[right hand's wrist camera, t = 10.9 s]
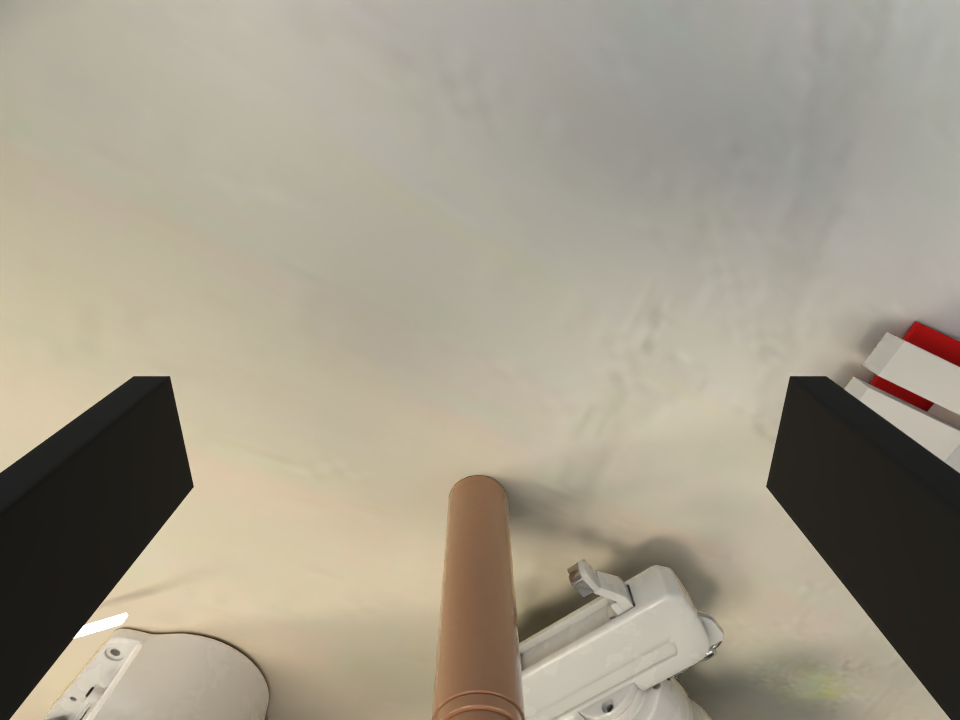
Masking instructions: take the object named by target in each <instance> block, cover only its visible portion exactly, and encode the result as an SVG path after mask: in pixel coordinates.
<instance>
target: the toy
mask: <svg viewBox="0 0 960 720" xmlns="http://www.w3.org/2000/svg"><path fill="white" fill-rule="evenodd" d="M862 365H863V366H865V367H866V368H867V369H869V370H870V371H872V372H873V373H875V374H876V376H875V377H874V378H873V380H872V381H871V383H870V384H868V383H866V382H864V381H862V380H860V379H858V378H856V377H854V376H853V378H852V379H851V380H850V382H849V383H848V384H847V386H846V387H845V388H844V390H846V391H847V392H848V393H850V394H851V395H853V396H854V397H855V398H857V399H858V400H860V401H861V402H862V403H864V404H865V405H866V406H868V407H869V408H871V409H872V410H873V411H875V412H876V413H877V414H879V415H880V416H882V417H883V418H884V419H886V420H887V421H888V422H890V423H891V424H893V425H894V426H895V427H897V428H898V429H899V430H901V431H902V432H904V433H905V434H906V435H908V436H909V437H911V438H912V439H913V440H915V441H916V442H917V443H919V444H920V445H922V446H923V447H924V448H926V449H927V450H928V451H930V452H931V453H933V454H934V455H935V456H937V457H938V458H939V459H941V460H942V461H944V462H945V463H946V464H948V465H949V466H951V467H952V468H953V469H955V470H956V471H957V472H959V473H960V342H959V341H957V340H955V339H953V338H950V337H948V336H946V335H944V334H942V333H940V332H937V331H935V330H933V329H931V328H929V327H927V326H924V325H922V324H920V323H918V322H915V323H914V324H913V326H912V327H911V328H910V330H909V331H908V332H907V334H906V335H905V336H904V338H903V339H901V338H899V337H897V336H895V335H893V334H891V333H888V332H887V333H886V334H885V335H884V337H883V338H882V339H881V341H880V342H879V343H878V345H877V346H876V347H875V349H874V350H873V351H872V353H871V354H870V355H869V356H868V358H867V359H866V360H865V362H864V363H863V364H862Z"/></svg>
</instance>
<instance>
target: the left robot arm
mask: <svg viewBox="0 0 960 720" xmlns="http://www.w3.org/2000/svg"><path fill="white" fill-rule="evenodd" d="M567 570H568V573H569V574H570V575H569V579H570V582H571V584H572V585H573V587H574V588H575V589H578V592H579V593H580V594H581V595H582V596H583V597H585V596H587V595H589V594H591V593H594V594H597V595H600V597H598V598H596V599H594V600H593V601H591V602H589V603H588V604H586V605H584V606H582V607H581V608H579V609H577V610H575V611H574V612H572V613H570V614H569V615H567V616H565V617H563V618H562V619H560V620H558V621H556V622H555V623H553V624H551V625H550V626H548V627H546V628H544V629H543V630H541V631H539V632H537V633H536V634H534V635H532V636H531V637H529V638H527V639H525V640H524V641H522V642H520V643H519V649H520V661H521V673H522V686H523V698H524V710H525V720H712V718H711V717H710V716H709V715H708V714H707V713H706V712H705V711H704V710H703V709H702V708H701V707H700V706H699V705H698V704H697V703H695V702H694V701H692V700H691V699H689V697H688V695H687V693H686V692H685V690H684V688H683V687H682V686H681V684H680V683H679V682H678V681H677V680H676V679H675V678H674V677H675V676H677V675H679V674H681V673H683V672H685V671H686V670H688V669H689V668H691V666H693V665H694V664H697V663H699V662H701V661H705V660H708V659H709V658H711V657H712V656H714V655H715V654H716V650H715V649H716V648H717V647H718V646H719V645H720V644H721V642H722V641H723V639H724V634H723V630H722V628H721V627H720V625H719V624H718V623H717V622H716V621H715V619H714V618H713V617H712V616H710V615H709V614H708V613H706V612H703V611H697V610H696V608H695V606H694V604H693V602H692V600H691V598H690V596H689V594H688V593H687V591H686V589H685V588H684V586H683V584H682V583H681V581H680V580H679V578H678V577H677V576H676V574H675V573H674V572H673V570H672V569H670V568H668V567H664V566H659V565H654V566H651V567H650V568H648V569H646V570H644V571H643V572H641V573H639V574H638V575H636V576H634V577H632V578H631V579H629V580H627V581H626V582H623V581H622V580H621V579H620V577H619V576H615V575H611V574H607V573H604V572H600V571H595V570H594V569H593V568H592V567H591V566H590V565H589V564H588V563H587V562H586V560H584V559H583V560H581V561H580V562H578V563H576V564H575V565H573V566H572V567H570V568H569V569H567ZM127 616H128V615H127V613H124V614H120V615H117V616H114V617H110V618H107V619H104V620H100V621H97V622H94V623H90V624H87V625H84V626H83V627H82V628H81V630H80V631H79V632H78V633H77V635H76V636H75V637H74V638H77V637H80V636H84V635H87V634H90V633H94V632H97V631H101V630H104V629H107V628H111V627H114V626H117V625H121V624H122V623H123V622H124V620H125V619H126V618H127ZM268 703H269V692H268V687H267V684H266V681H265V679H264V677H263V675H262V674H261V672H260V671H259V669H258V668H257V667H256V666H255V665H254V663H253V662H252V661H250V660H249V659H248V658H247V657H246V656H245V655H243V654H242V653H240V652H239V651H237V650H236V649H234V648H232V647H230V646H228V645H226V644H224V643H222V642H219V641H217V640H214V639H211V638H207V637H203V636H199V635H192V634H149V633H145V632H141V631H136V630H131V629H118V630H116V631H114V632H113V633H112V634H111V636H110V637H109V638H108V639H107V640H106V642H105V643H104V644H103V645H102V647H101V648H100V649H99V650H98V651H97V653H96V654H95V655H94V656H93V657H92V659H91V660H90V661H89V662H88V663H87V665H86V666H85V667H84V668H83V669H82V671H81V672H80V673H79V674H78V675H77V677H76V678H75V679H74V680H73V681H72V683H71V684H70V685H69V686H68V687H67V689H66V690H65V691H64V692H63V693H62V695H61V696H60V697H59V698H58V699H57V701H56V702H55V703H54V704H53V706H52V707H51V708H50V710H49V712H48V713H47V715H46V717H45V720H265V714H266V711H267V707H268Z"/></svg>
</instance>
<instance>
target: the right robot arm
mask: <svg viewBox="0 0 960 720" xmlns="http://www.w3.org/2000/svg"><path fill="white" fill-rule="evenodd" d="M193 487H194V486H193V481H192V477H191V472H190V467H189V463H188V458H187V453H186V449H185V444H184V439H183V435H182V430H181V426H180V421H179V416H178V412H177V407H176V402H175V398H174V393H173V388H172V384H171V379H170V376H134V377H132V378H131V379H129V380H128V381H127V382H125V383H124V384H123V385H121V386H120V387H118V388H117V389H116V390H114V391H113V392H112V393H110V394H109V395H107V396H106V397H105V398H103V399H102V400H100V401H99V402H98V403H96V404H95V405H94V406H92V407H91V408H89V409H88V410H87V411H85V412H84V413H83V414H81V415H80V416H78V417H77V418H76V419H74V420H73V421H72V422H70V423H69V424H67V425H66V426H65V427H63V428H62V429H60V430H59V431H58V432H56V433H55V434H54V435H52V436H51V437H49V438H48V439H47V440H45V441H44V442H43V443H41V444H40V445H38V446H37V447H36V448H34V449H33V450H32V451H30V452H29V453H27V454H26V455H25V456H23V457H22V458H21V459H19V460H18V461H16V462H15V463H14V464H12V465H11V466H9V467H8V468H7V469H5V470H4V471H3V472H1V473H0V720H9V719H10V718H11V717H12V716H13V714H14V713H15V712H16V710H17V709H18V708H19V707H20V705H21V704H22V703H23V702H24V700H25V699H26V698H27V697H28V695H29V694H30V693H31V692H32V690H33V689H34V688H35V686H36V685H37V684H38V683H39V681H40V680H41V679H42V678H43V676H44V675H45V674H46V673H47V671H48V670H49V669H50V668H51V666H52V665H53V664H54V662H55V661H56V660H57V659H58V657H59V656H60V655H61V654H62V652H63V651H64V650H65V649H66V647H67V646H68V645H69V644H70V642H71V641H72V640H73V639H74V637H75V636H76V635H77V633H78V632H79V631H80V630H81V628H82V627H83V626H84V625H85V623H86V622H87V621H88V620H89V618H90V617H91V616H92V615H93V613H94V612H95V611H96V609H97V608H98V607H99V606H100V604H101V603H102V602H103V601H104V599H105V598H106V597H107V596H108V594H109V593H110V592H111V591H112V589H113V588H114V587H115V585H116V584H117V583H118V582H119V580H120V579H121V578H122V577H123V575H124V574H125V573H126V572H127V570H128V569H129V568H130V567H131V565H132V564H133V563H134V561H135V560H136V559H137V558H138V556H139V555H140V554H141V553H142V551H143V550H144V549H145V548H146V546H147V545H148V544H149V543H150V541H151V540H152V539H153V537H154V536H155V535H156V534H157V532H158V531H159V530H160V529H161V527H162V526H163V525H164V524H165V522H166V521H167V520H168V519H169V517H170V516H171V515H172V514H173V512H174V511H175V510H176V508H177V507H178V506H179V505H180V503H181V502H182V501H183V500H184V498H185V497H186V496H187V495H188V493H189V492H190V491H191V490H192V488H193ZM766 487H767V488H768V490H769V491H770V492H771V493H772V495H773V496H774V497H775V498H776V500H777V501H778V502H779V503H780V505H781V506H782V507H783V508H784V510H785V511H786V512H787V514H788V515H789V516H790V517H791V519H792V520H793V521H794V522H795V524H796V525H797V526H798V527H799V529H800V530H801V531H802V532H803V534H804V535H805V536H806V538H807V539H808V540H809V541H810V543H811V544H812V545H813V546H814V548H815V549H816V550H817V551H818V553H819V554H820V555H821V556H822V558H823V559H824V560H825V561H826V563H827V564H828V565H829V567H830V568H831V569H832V570H833V572H834V573H835V574H836V575H837V577H838V578H839V579H840V580H841V582H842V583H843V584H844V585H845V587H846V588H847V589H848V591H849V592H850V593H851V594H852V596H853V597H854V598H855V599H856V601H857V602H858V603H859V604H860V606H861V607H862V608H863V609H864V611H865V612H866V613H867V615H868V616H869V617H870V618H871V620H872V621H873V622H874V623H875V625H876V626H877V627H878V628H879V630H880V631H881V632H882V633H883V635H884V636H885V637H886V639H887V640H888V641H889V642H890V644H891V645H892V646H893V647H894V649H895V650H896V651H897V652H898V654H899V655H900V656H901V657H902V659H903V660H904V661H905V662H906V664H907V665H908V666H909V668H910V669H911V670H912V671H913V673H914V674H915V675H916V676H917V678H918V679H919V680H920V681H921V683H922V684H923V685H924V686H925V688H926V689H927V690H928V692H929V693H930V694H931V695H932V697H933V698H934V699H935V700H936V702H937V703H938V704H939V705H940V707H941V708H942V709H943V710H944V712H945V713H946V714H947V716H948V717H949V718H950V719H951V720H960V473H959V472H957V471H956V470H955V469H953V468H952V467H951V466H949V465H948V464H946V463H945V462H944V461H942V460H941V459H939V458H938V457H937V456H935V455H934V454H933V453H931V452H930V451H928V450H927V449H926V448H924V447H923V446H922V445H920V444H919V443H917V442H916V441H915V440H913V439H912V438H911V437H909V436H908V435H906V434H905V433H904V432H902V431H901V430H899V429H898V428H897V427H895V426H894V425H893V424H891V423H890V422H888V421H887V420H886V419H884V418H883V417H882V416H880V415H879V414H877V413H876V412H875V411H873V410H872V409H871V408H869V407H868V406H866V405H865V404H864V403H862V402H861V401H860V400H858V399H857V398H855V397H854V396H853V395H851V394H850V393H848V392H847V391H846V390H844V389H843V388H842V387H840V386H839V385H837V384H836V383H835V382H833V381H832V380H831V379H829V378H828V377H826V376H790V379H789V384H788V388H787V393H786V398H785V402H784V407H783V412H782V416H781V421H780V426H779V430H778V435H777V439H776V444H775V449H774V453H773V458H772V463H771V467H770V472H769V477H768V481H767V486H766Z"/></svg>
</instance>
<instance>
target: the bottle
mask: <svg viewBox="0 0 960 720" xmlns="http://www.w3.org/2000/svg"><path fill="white" fill-rule="evenodd" d="M432 720H525V710H524V698H523V686H522V673H521V661H520V649H519V636H518V624H517V612H516V599H515V587H514V575H513V562H512V550H511V538H510V525H509V513H508V501H507V494H506V492H505V490H504V488H503V487H502V485H501V484H499V483H498V482H497V481H496V480H494V479H492V478H489V477H486V476H470V477H467V478H464V479H462V480H461V481H459V482H458V483H457V484H456V485H455V486H454V487H453V488H452V490H451V492H450V494H449V501H448V514H447V527H446V540H445V554H444V567H443V580H442V594H441V607H440V620H439V633H438V647H437V660H436V673H435V687H434V700H433V713H432Z"/></svg>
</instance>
